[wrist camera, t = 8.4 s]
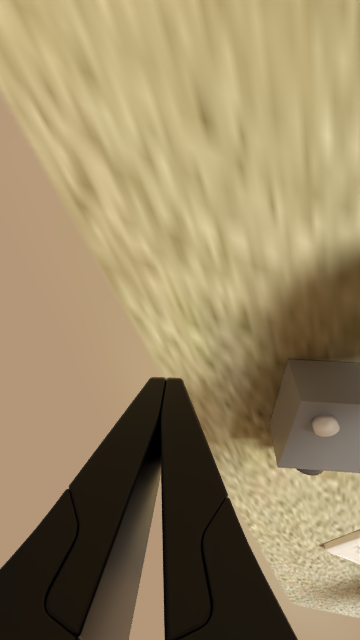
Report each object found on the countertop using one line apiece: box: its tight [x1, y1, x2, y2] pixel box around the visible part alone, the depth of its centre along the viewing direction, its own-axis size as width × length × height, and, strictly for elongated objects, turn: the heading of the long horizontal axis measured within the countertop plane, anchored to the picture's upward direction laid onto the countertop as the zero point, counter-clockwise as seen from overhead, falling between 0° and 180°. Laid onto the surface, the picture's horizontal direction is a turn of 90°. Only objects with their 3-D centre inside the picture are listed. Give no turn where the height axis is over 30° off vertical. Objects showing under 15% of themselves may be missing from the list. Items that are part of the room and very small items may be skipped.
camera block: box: [270, 359, 360, 475], centre depth 24 cm, size 10×9×5 cm
